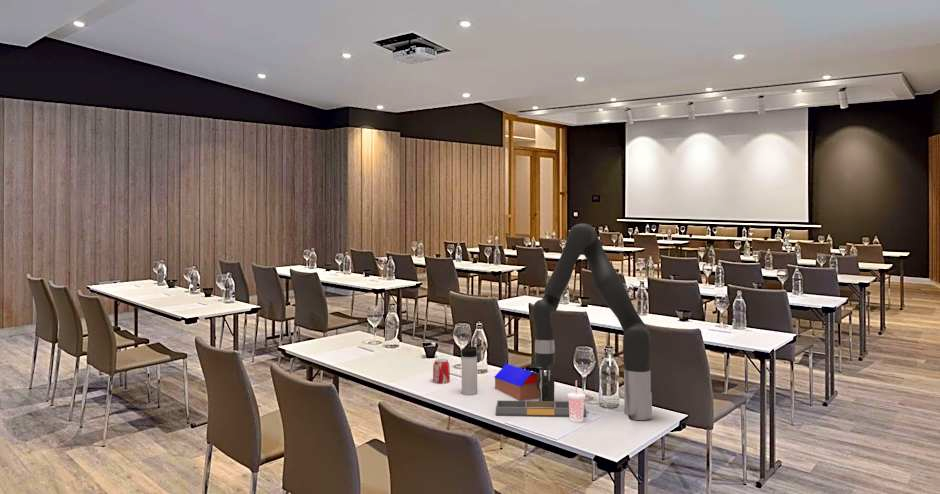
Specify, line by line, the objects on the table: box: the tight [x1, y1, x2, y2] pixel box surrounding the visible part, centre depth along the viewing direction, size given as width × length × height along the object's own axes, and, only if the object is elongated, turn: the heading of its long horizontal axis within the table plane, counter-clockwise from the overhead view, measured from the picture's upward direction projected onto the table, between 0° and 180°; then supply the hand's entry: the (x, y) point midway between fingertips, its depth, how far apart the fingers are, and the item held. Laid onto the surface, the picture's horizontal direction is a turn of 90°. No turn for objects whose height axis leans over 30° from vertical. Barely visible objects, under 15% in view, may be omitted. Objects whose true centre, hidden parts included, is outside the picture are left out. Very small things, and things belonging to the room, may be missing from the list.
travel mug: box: [461, 346, 478, 396], centre depth 262 cm, size 6×7×20 cm
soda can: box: [432, 358, 451, 385], centre depth 278 cm, size 7×7×12 cm
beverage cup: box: [567, 379, 586, 423], centre depth 228 cm, size 6×6×14 cm
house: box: [494, 363, 540, 401], centre depth 264 cm, size 12×20×12 cm, turn 28°
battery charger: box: [537, 373, 555, 401], centre depth 250 cm, size 7×4×11 cm, turn 131°
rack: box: [495, 400, 587, 418], centre depth 238 cm, size 32×10×3 cm, turn 85°
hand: (545, 394), depth 250 cm, fingers closed on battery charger, 7 cm apart
